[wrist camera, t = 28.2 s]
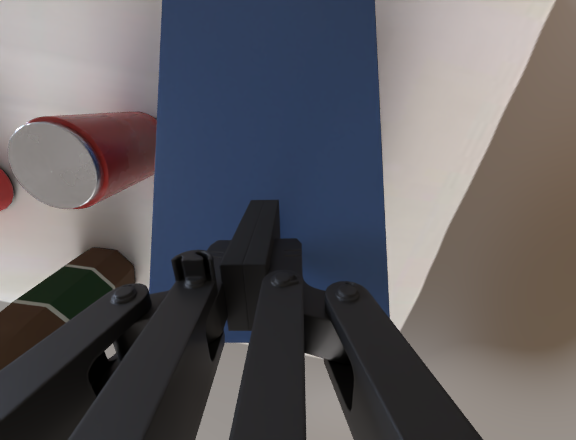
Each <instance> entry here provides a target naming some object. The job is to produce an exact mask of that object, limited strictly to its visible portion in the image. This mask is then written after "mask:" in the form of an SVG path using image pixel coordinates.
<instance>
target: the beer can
mask: <svg viewBox="0 0 576 440" xmlns="http://www.w3.org/2000/svg"><path fill="white" fill-rule="evenodd" d="M13 196H14V192H13V186H12V184H11V181H10V179H9V178H8V176H7V175H6V174H5V172H4V171H3V170H2V169H1V168H0V211H1V210H4V209H6V208H7V207H8V206H9V205H10V204H11V203H12V199H13Z"/></svg>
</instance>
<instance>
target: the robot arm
mask: <svg viewBox="0 0 576 440" xmlns="http://www.w3.org/2000/svg"><path fill="white" fill-rule="evenodd" d="M171 262H172V267H173V272H174V276H175V281H176V282H175V283H174V285H173V286H172V288H171V289H170V290H168V291H164V292H159V293H154V294H149V291H148V288H147V287H146V285H143V284H136V283H132V284H126V285H122V286H120V287H118V288H115V289H113V290H112V291H110V292H108V293H107V294H105V295H104V296H102V297H101V298H100V299H98V300H97V301H96V302H94V303H93V304H91V305H90V306H89V307H87V308H86V309H84V310H83V311H82V312H80V313H79V314H78V315H76V316H75V317H73V318H72V319H71V320H69V321H68V322H66V323H65V324H64V325H62V326H61V327H60V328H58V329H57V330H55V331H54V332H53V333H51V334H50V335H48V336H47V337H46V338H44V339H43V340H42V341H40V342H39V343H37V344H36V345H35V346H33V347H32V348H30V349H29V350H28V351H26V352H25V353H24V354H22V355H21V356H19V357H18V358H17V359H15V360H14V361H13V362H11V363H10V364H8V365H7V366H6V367H4V368H3V369H1V370H0V440H195V438H196V435H197V432H198V429H199V425H200V422H201V419H202V416H203V412H204V409H205V406H206V402H207V399H208V396H209V393H210V389H211V386H212V383H213V379H214V376H215V373H216V370H217V366H218V363H219V360H220V356H221V353H222V350H223V347H224V343H225V334H224V327H225V324H226V321H227V324H228V331H252V332H251V337H250V341H249V346H248V351H247V356H246V361H245V365H244V370H243V375H242V380H241V385H240V390H239V394H238V399H237V404H236V408H235V413H234V418H233V423H232V428H231V433H230V437H229V440H306V409H305V408H306V407H305V361H304V360H305V358H304V353H307V354H311V355H314V356H317V357H321V358H324V364H325V366H326V369H327V371H328V374H329V377H330V379H331V381H332V384H333V387H334V390H335V392H336V395H337V397H338V400H339V402H340V404H341V407H342V410H343V413H344V415H345V418H346V420H347V423H348V426H349V428H350V431H351V434H352V436H353V439H354V440H483V439H482V438H481V436H480V435H479V434H478V432H477V431H476V430H475V429H474V427H473V426H472V425H471V423H470V422H469V421H468V419H467V418H466V417H465V416H464V414H463V413H462V412H461V411H460V409H459V408H458V407H457V405H456V404H455V403H454V401H453V400H452V399H451V397H450V396H449V395H448V394H447V392H446V391H445V390H444V388H443V387H442V386H441V385H440V383H439V382H438V381H437V379H436V378H435V377H434V375H433V374H432V373H431V372H430V370H429V369H428V368H427V367H426V365H425V364H424V363H423V361H422V360H421V359H420V357H419V356H418V355H417V354H416V352H415V351H414V349H413V348H412V347H411V346H410V344H409V343H408V342H407V341H406V339H405V338H404V337H403V335H402V334H401V333H400V331H399V330H398V329H397V327H396V326H395V325H394V324H393V322H392V321H391V320H390V318H389V317H388V316H387V315H386V313H385V312H384V311H383V309H382V308H381V307H380V305H379V304H378V303H377V302H376V300H375V299H374V298H373V296H372V295H371V294H370V293H369V291H368V290H367V289H366V288H364V287H363V286H362V285H359V284H357V283H354V282H349V281H339V282H335V283H332V284H331V285H329V286H328V287H327V289H326V291H325V290H320V289H316V288H314V287H312V286H310V285H308V284H307V283H306V282H305V281H304V279H303V273H302V243H301V242H300V241H299V240H298V239H297V238H282V239H281V237H280V214H279V200H251V201H250V203H249V205H248V207H247V209H246V211H245V213H244V215H243V217H242V219H241V221H240V223H239V225H238V227H237V230H236V232H235V234H234V236H233V238H232V240H217V241H216V242H214V243H213V244H211V245H210V246H209V248H208V249H207V251H206V250H190V251H186V252H183V253H181V254H178V255H176V256H175V257H174V258H173V259H171ZM112 343H113V344H114V347H115V350H116V354H115V355H114V356H112V357H111V358H109V359H107V357H106V354H105V352H104V351H105V350H106V349H107V348H108V347H109V346H110V345H111V344H112Z"/></svg>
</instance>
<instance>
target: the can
mask: <svg viewBox="0 0 576 440" xmlns="http://www.w3.org/2000/svg"><path fill="white" fill-rule="evenodd" d="M156 130H157V119H155V118H154V117H152V116H150V115H148V114H146V113H143V112H117V113H99V114H81V115H62V116H45V117H38V118H34V119H32V120H30V121H28V122H27V123H26V124H24V125H23V126H21V127H20V128H18V129H17V130H16V131H15V132H14V133H13V135H12V137H11V139H10V141H9V145H8V159H9V164H10V167H11V169H12V172H13V174H14V176H15V177H16V179H17V180H18V182H19V183H20V184H21V186H22V187H23V188H24V189H25V190H26V191H27V192H28V193H29V194H30V195H32V196H33V197H34V198H36V199H37V200H39V201H41V202H43V203H44V204H47V205H49V206H52V207H56V208H61V209H83V208H87V207H90V206H92V205H94V204H96V203H98V202H100V201H102V200H104V199H106V198H108V197H110V196H112V195H114V194H116V193H118V192H120V191H122V190H124V189H126V188H128V187H130V186H132V185H134V184H136V183H138V182H140V181H142V180H144V179H146V178H148V177H150V176H152V175H154V174H155V153H156Z"/></svg>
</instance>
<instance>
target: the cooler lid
mask: <svg viewBox="0 0 576 440" xmlns="http://www.w3.org/2000/svg"><path fill="white" fill-rule="evenodd" d="M251 200H279V214H280V237H281V239H282V238H297V239H298V240H299V241H300V242H301V243H302V273H303V279H304V281H305V282H306V283H307V284H308V285H310V286H312V287H314V288H316V289H320V290H325V291H326V289H327V287H328V286H329V285H331V284H332V283H335V282H339V281H349V282H354V283H357V284H359V285H362V286H363V287H364V288H366V289H367V290H368V291H369V293H370V294H371V295H372V296H373V298H374V299H375V300H376V302H377V303H378V304H379V305H380V307H381V308H382V309H383V311H384V312H385V313H386V315H387V316H388V317H389V318H390V314H389V293H388V272H387V251H386V229H385V208H384V187H383V165H382V144H381V123H380V101H379V80H378V59H377V37H376V16H375V0H162V18H161V40H160V63H159V85H158V108H157V130H156V153H155V175H154V198H153V220H152V242H151V265H150V287H149V294H154V293H159V292H164V291H168V290H170V289H171V288H172V286H173V285H174V283H175V282H176V281H175V276H174V272H173V267H172V262H171V259H173V258H174V257H175V256H176V255H178V254H181V253H183V252H186V251H190V250H206V251H207V249H208V248H209V246H210V245H211V244H213V243H214V242H216V241H217V240H232V238H233V236H234V234H235V232H236V230H237V227H238V225H239V223H240V221H241V219H242V217H243V215H244V213H245V211H246V209H247V207H248V205H249V203H250V201H251ZM251 332H252V331H228V324H227V321H226V324H225V327H224V334H225V343H227V342H228V343H249V341H250V337H251Z"/></svg>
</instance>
